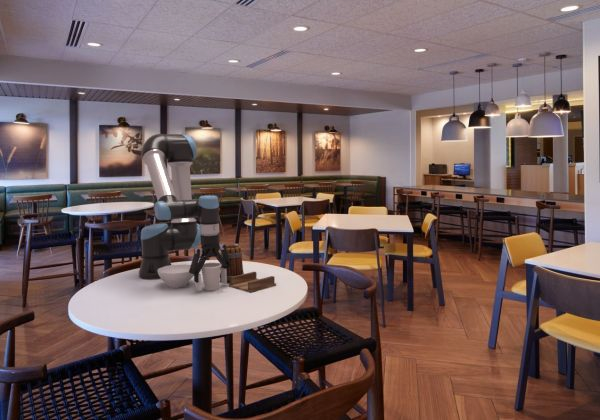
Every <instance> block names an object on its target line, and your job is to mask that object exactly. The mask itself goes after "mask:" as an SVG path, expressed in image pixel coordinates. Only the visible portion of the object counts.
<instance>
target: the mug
mask: <svg viewBox="0 0 600 420" xmlns="http://www.w3.org/2000/svg"><path fill="white" fill-rule="evenodd" d="M225 245H226V251H227V253H228V256H229V258H230V261H231V263H232V265H231V266H229V269H228V276H227V284H230V277H233V276H238V275H242V274H245V272H244V265H243V252H242V247H241V245H240V243H234V244H228V245H227V244H225ZM220 254H221V257H222V258H223V255H222V253H221V252H220ZM223 259H224V258H223ZM224 261H225V260H224ZM221 268H223V267H222V265H221ZM220 281H221V271H220Z"/></svg>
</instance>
